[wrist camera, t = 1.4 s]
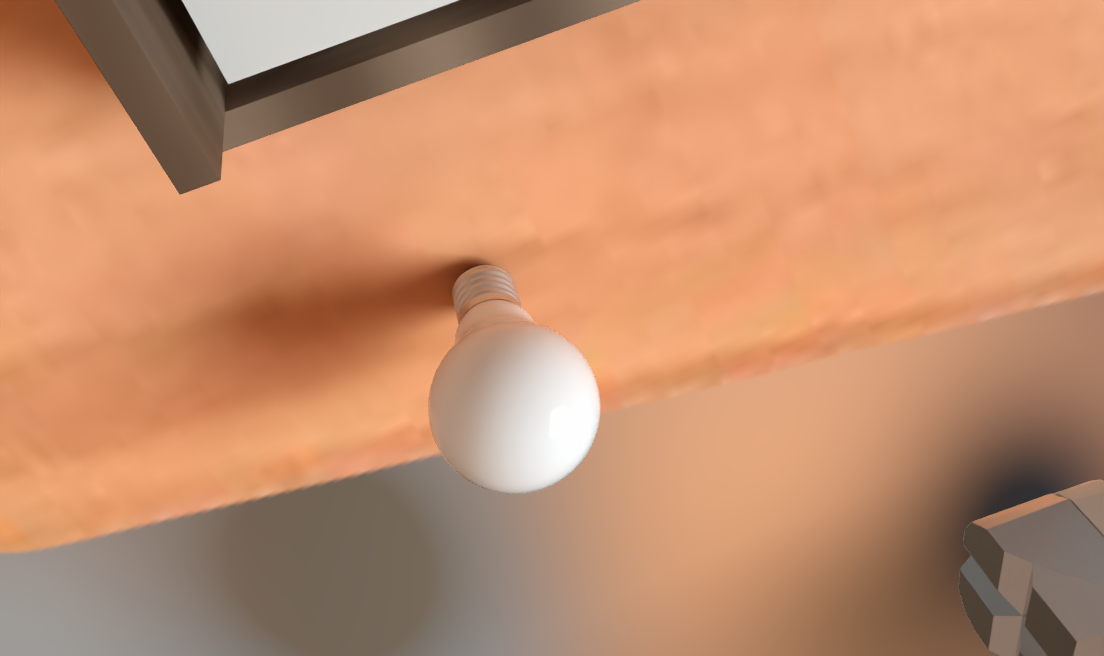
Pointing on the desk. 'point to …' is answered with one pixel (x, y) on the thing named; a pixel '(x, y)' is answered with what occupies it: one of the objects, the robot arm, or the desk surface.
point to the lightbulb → (510, 392)
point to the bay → (283, 69)
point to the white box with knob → (289, 28)
